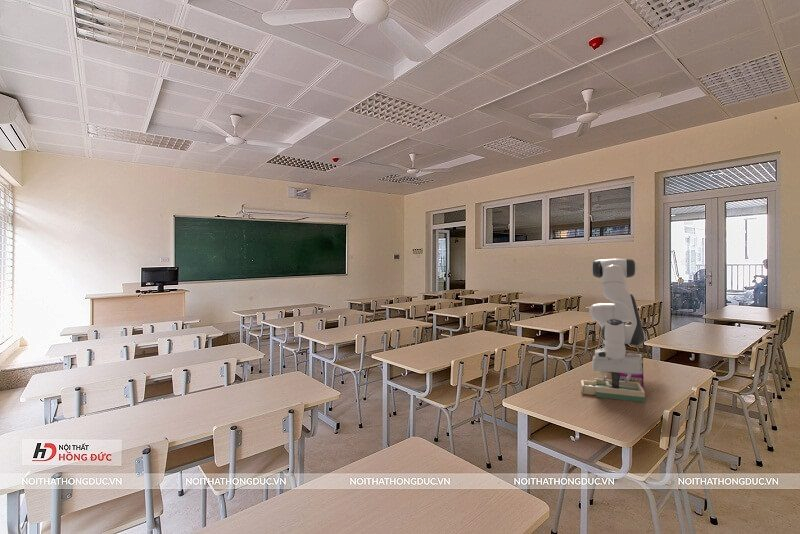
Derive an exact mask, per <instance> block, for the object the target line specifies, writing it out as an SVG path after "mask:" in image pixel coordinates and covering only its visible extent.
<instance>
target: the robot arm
mask: <svg viewBox="0 0 800 534" xmlns="http://www.w3.org/2000/svg"><path fill="white" fill-rule="evenodd" d="M637 269H638V266H637V264H636V262H635V260H634V259H632V258H606V259H596V260H593V262H592V264H591V266H590V272H591V274H592V276H594V277H595V278H598V279H601V290H602V295H603V297H604V298H606V299H607V300H608V301H610V302H611V303H609V302H606V303H605V302H604V303H603V302H599V303H593V304H591V306H590V308H589V311H588V312H589V315H590V317H591V319H592V320H593V321H595V322H596V323H597V324H598V325H599V326H600V329H601V339H602V341H603V342H602V348H598V349H595V350H594V355H593V357H592V361H591V368H592V370H593V371H595V372H596V371H597V372H599V373H600V375H601V377H602V379H603V380H606V379H607V376H606V375H604V372H606V373H612V372H617V373H627V375H628V376H627V378H625V382H629V378H630V377H631V374H639V373H640V368H639V363H640V357H639V356H637V355H635V354H636V353H635V354H625V353H627V351H626V345H631V346H640V345H641V344H643V343H645V340H646V334H645V331H644V328H643V326H642V321H641V318H640V313H639V312H640V311H639V310H638V306H637V302H636V299H635V296H634V295H633V294H632V293H630V292H629V291H628V289H627V284H626V283H627V282H626V278H632V277H634V276H635V274H636V273H637ZM624 323H631V324H624ZM636 356H637V357H636Z"/></svg>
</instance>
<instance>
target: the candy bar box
mask: <svg viewBox="0 0 800 534" xmlns="http://www.w3.org/2000/svg"><path fill="white" fill-rule="evenodd" d="M625 354H635V355H637V356H639V357H640V363H639V368H640V373H639V374H631V377H630V378H629V382H639V383H640V385H641V387H642V388H644V387H645V386H644V385H645V382H644V379H645V378H644V357H643V354H642V353H635V352H634V353H632V352H626V353H625ZM637 356H636V357H637ZM627 376H628V375H627V373H619V381H625V378H627Z"/></svg>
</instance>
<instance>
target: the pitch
mask: <svg viewBox="0 0 800 534" xmlns="http://www.w3.org/2000/svg"><path fill="white" fill-rule="evenodd" d="M605 381H608V382H609V385H612V379H608V378H606V380H603V378H597V377H596V378H595V377H594V378H593V380H586V379H585V380H584V379H581V380H580V387H581V393H582V394H583V395H593V396H595V397H597V398H603V399H610V400H611V399H613V400H620V401H630V402H639V403H646V392H645V389H644V387H641V385H640V383H639V382H625V381H619V389H616V388H606V386H605ZM588 385H592V386H588Z"/></svg>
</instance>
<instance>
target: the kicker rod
mask: <svg viewBox="0 0 800 534" xmlns="http://www.w3.org/2000/svg"><path fill="white" fill-rule="evenodd" d="M611 380H612V385H609V382H608V381H605V386H606V388H616V389H619V373H617V372H611Z"/></svg>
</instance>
